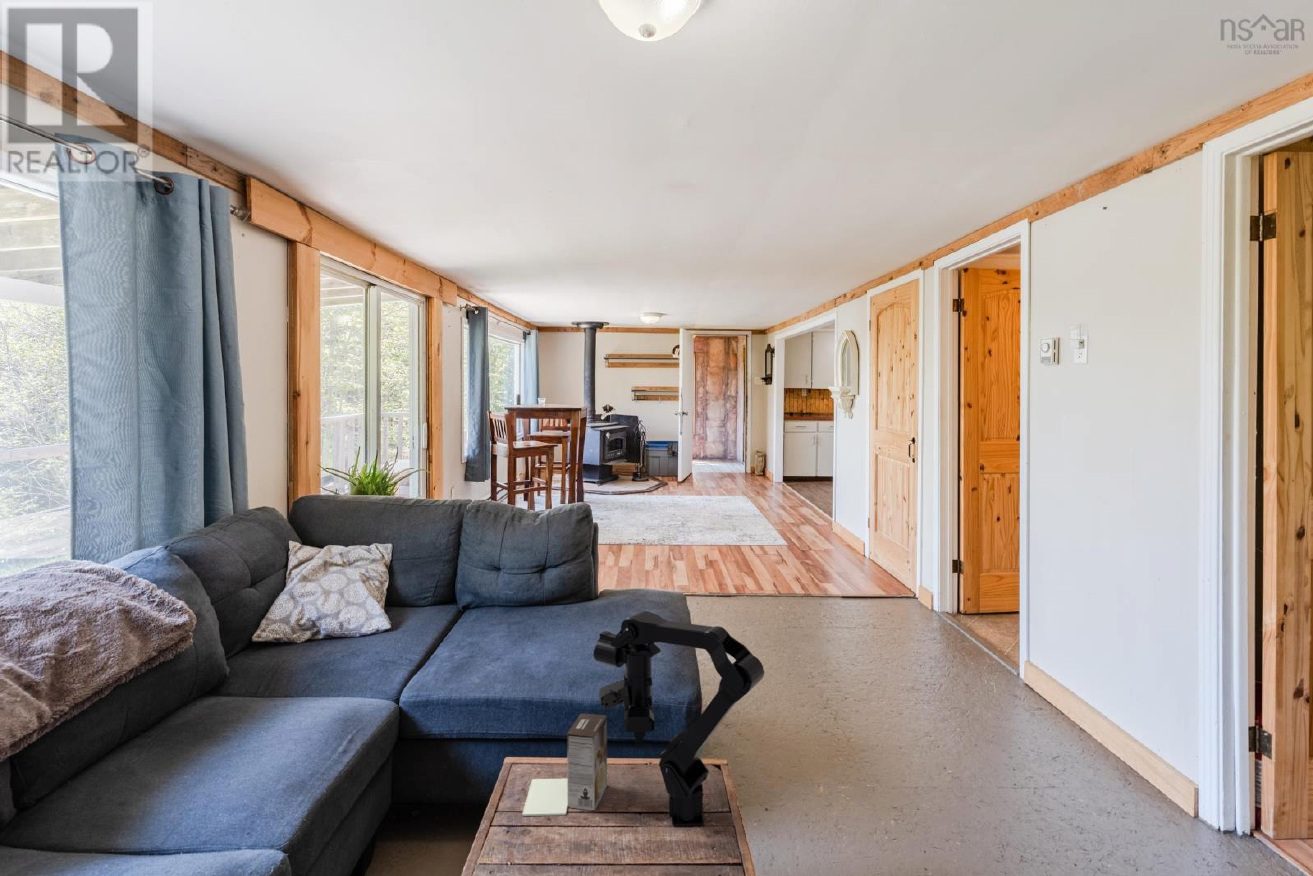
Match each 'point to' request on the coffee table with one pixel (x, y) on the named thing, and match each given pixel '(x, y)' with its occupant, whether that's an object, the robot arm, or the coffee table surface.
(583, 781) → the coffee box
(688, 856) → the coffee table surface
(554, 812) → the pad
